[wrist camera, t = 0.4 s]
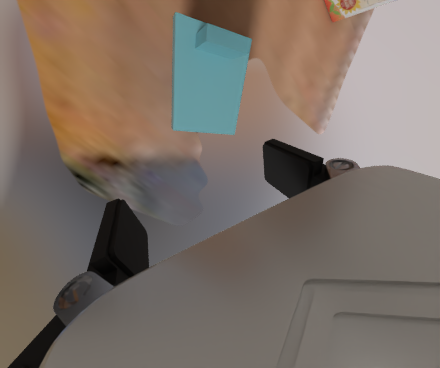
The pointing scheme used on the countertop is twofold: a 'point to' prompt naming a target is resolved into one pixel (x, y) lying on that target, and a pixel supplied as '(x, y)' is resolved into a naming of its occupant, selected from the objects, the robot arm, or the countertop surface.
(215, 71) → the lid
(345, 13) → the cracker box
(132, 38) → the countertop surface
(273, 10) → the countertop surface
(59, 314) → the robot arm
